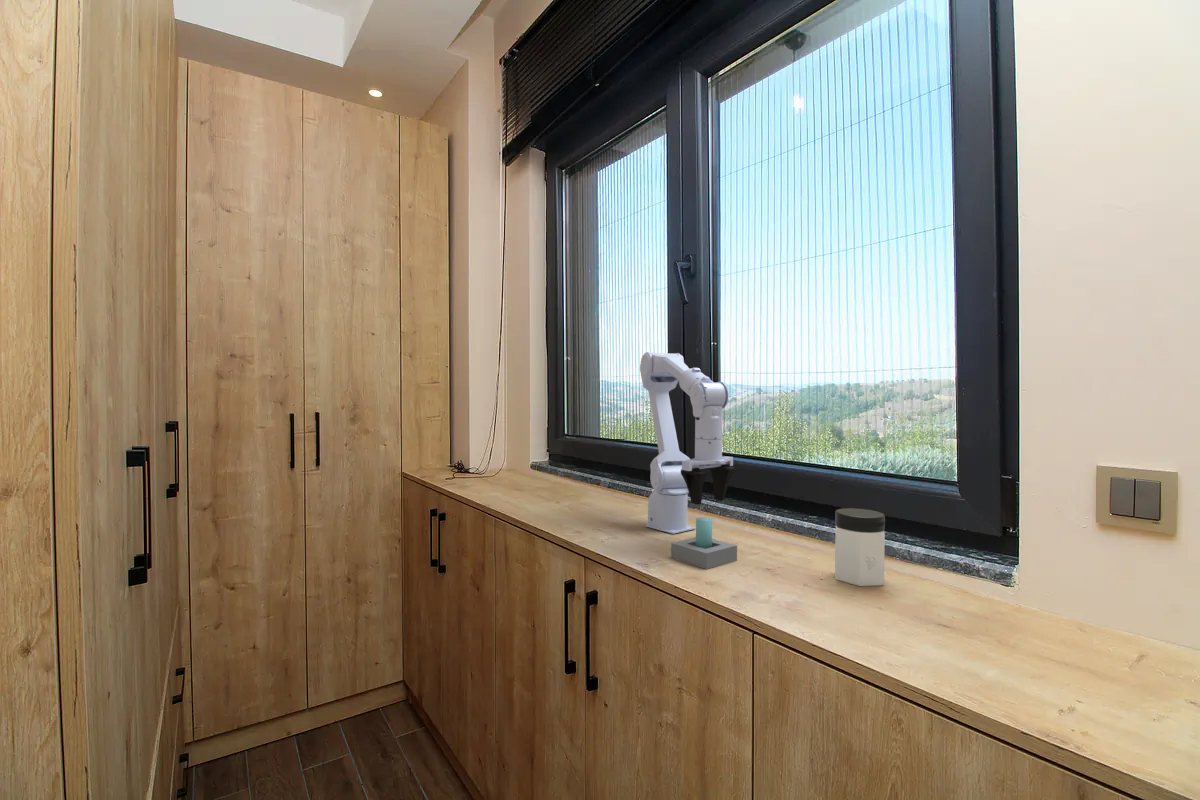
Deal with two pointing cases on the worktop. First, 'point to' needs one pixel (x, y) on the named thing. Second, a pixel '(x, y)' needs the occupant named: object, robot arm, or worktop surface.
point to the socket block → (704, 553)
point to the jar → (859, 546)
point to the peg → (704, 532)
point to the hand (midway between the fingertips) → (707, 501)
